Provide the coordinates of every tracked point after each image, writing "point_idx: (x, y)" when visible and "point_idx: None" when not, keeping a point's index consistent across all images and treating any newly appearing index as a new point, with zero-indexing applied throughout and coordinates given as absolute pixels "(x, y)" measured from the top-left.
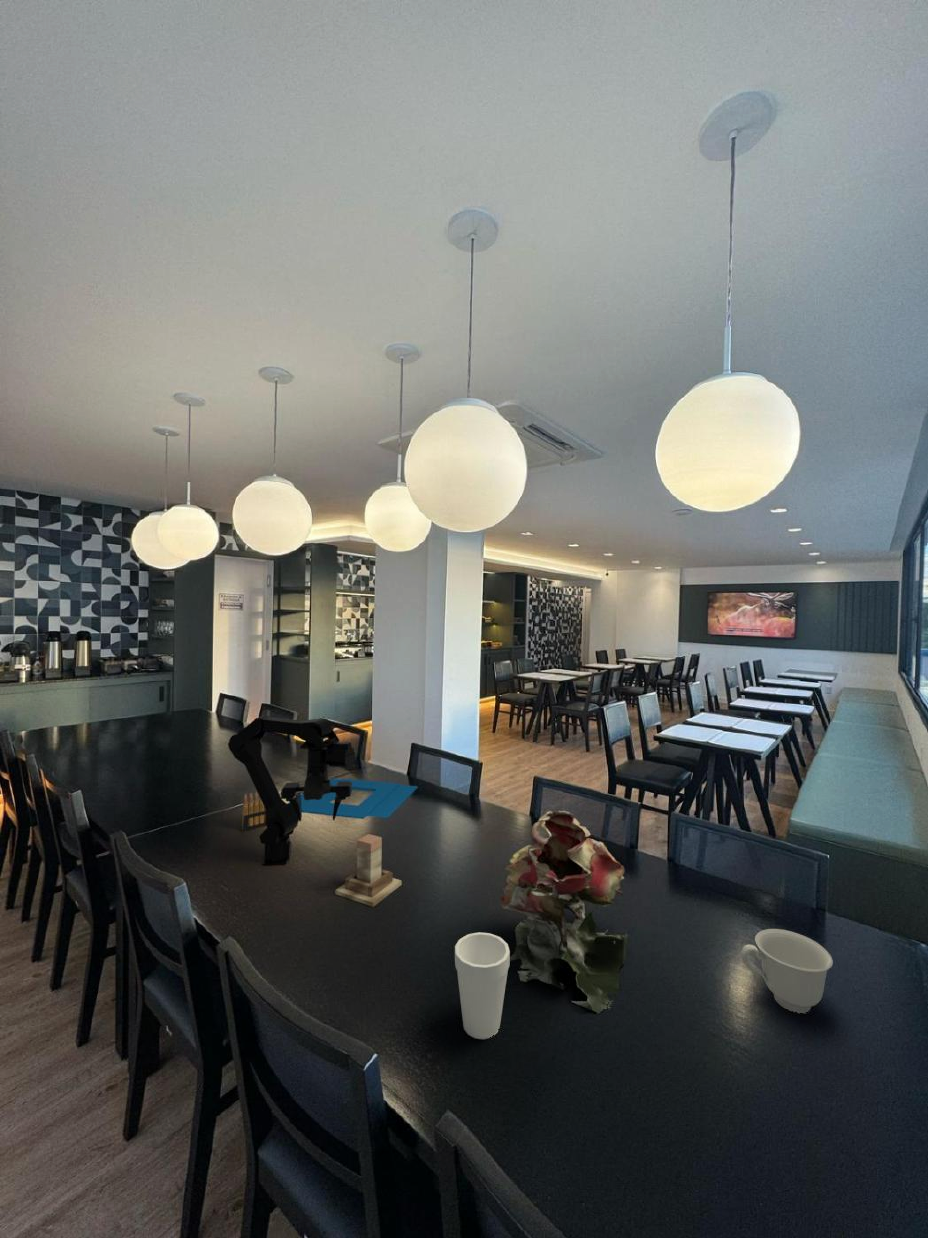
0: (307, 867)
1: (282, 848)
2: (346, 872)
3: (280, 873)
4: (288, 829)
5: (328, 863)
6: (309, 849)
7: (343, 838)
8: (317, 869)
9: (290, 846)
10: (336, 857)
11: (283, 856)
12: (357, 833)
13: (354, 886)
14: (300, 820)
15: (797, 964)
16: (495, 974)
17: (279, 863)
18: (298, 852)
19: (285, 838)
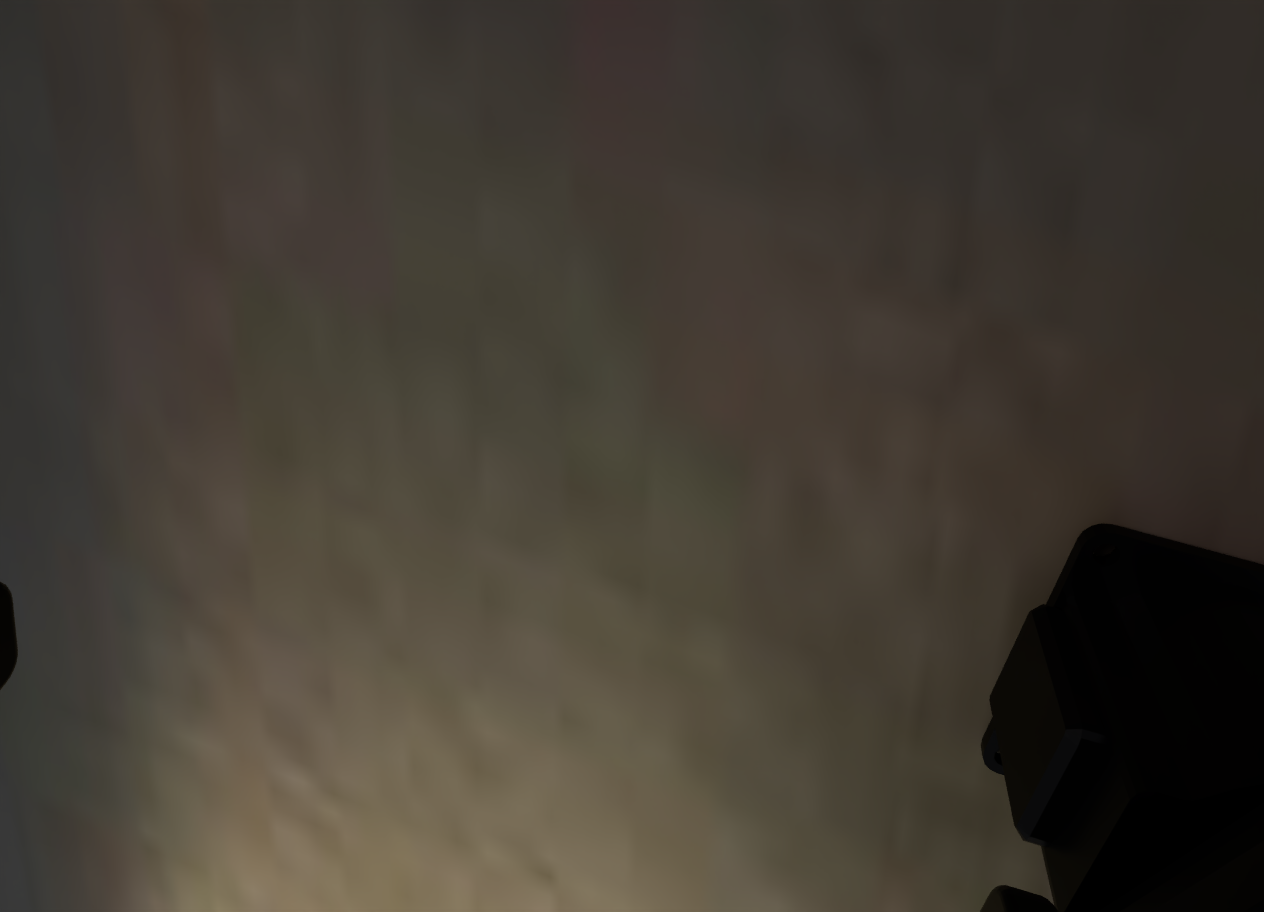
0: (810, 349)
1: (1182, 707)
2: (303, 22)
3: (1208, 301)
4: (1216, 905)
5: (537, 365)
6: (744, 782)
7: (377, 863)
8: (683, 245)
9: (1029, 752)
10: (441, 485)
11: (1128, 632)
12: (246, 901)
13: None
14: (1012, 902)
15: None
16: None
17: (1180, 549)
18: (878, 764)
19: (1146, 866)
